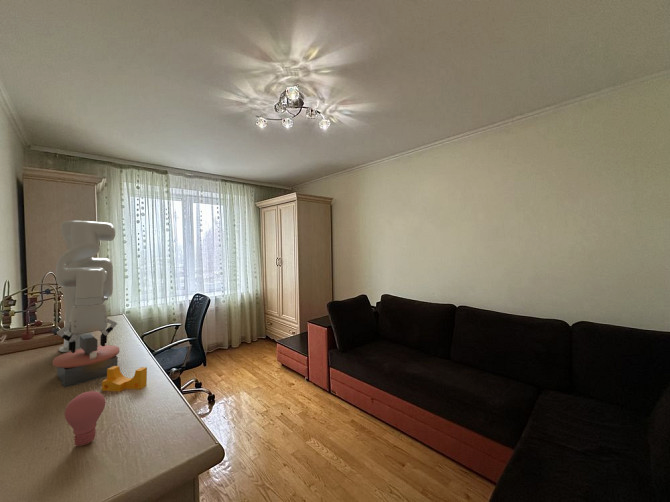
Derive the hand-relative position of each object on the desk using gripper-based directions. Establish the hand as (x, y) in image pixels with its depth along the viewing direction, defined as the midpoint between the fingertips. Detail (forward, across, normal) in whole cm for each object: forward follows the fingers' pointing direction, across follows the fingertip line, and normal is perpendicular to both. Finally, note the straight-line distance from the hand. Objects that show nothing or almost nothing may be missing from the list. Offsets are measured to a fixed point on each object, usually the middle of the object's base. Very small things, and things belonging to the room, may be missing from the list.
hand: (88, 348), depth 97 cm
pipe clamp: (+10, -5, +22) cm, 25 cm away
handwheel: (+3, 0, 0) cm, 3 cm away
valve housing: (+10, 0, 0) cm, 10 cm away
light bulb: (+10, +9, +46) cm, 48 cm away
